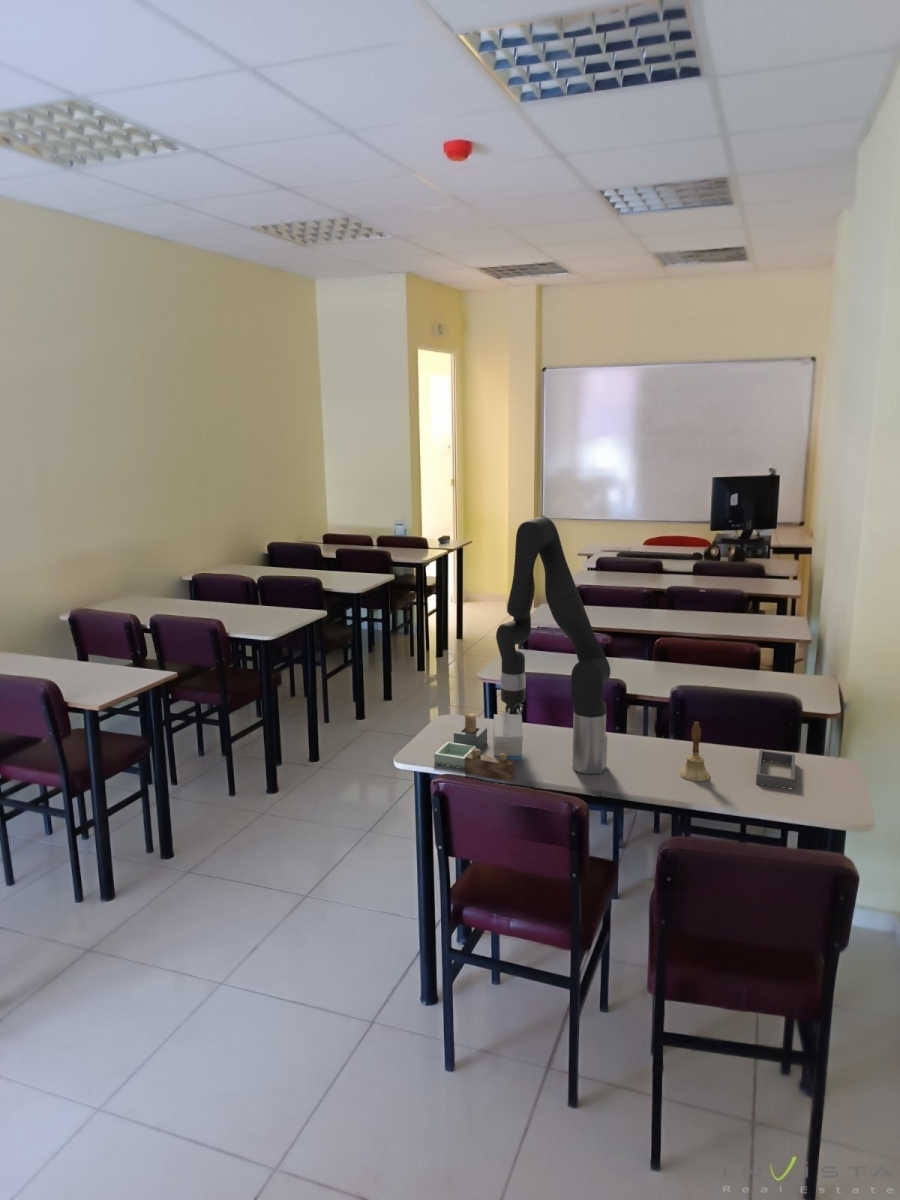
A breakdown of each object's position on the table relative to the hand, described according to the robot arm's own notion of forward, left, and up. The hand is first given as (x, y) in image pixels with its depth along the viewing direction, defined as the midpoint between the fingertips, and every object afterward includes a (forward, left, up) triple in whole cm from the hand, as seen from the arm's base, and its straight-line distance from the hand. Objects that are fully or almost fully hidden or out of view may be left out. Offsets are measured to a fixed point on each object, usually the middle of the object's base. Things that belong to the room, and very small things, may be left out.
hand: (513, 739), depth 245 cm
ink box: (0, +6, -1) cm, 6 cm away
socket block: (+13, +2, -3) cm, 14 cm away
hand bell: (-54, -1, -3) cm, 54 cm away
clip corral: (-75, -10, -3) cm, 75 cm away
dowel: (+13, +2, -3) cm, 14 cm away
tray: (+13, +14, -3) cm, 20 cm away
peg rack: (0, +20, -3) cm, 20 cm away
